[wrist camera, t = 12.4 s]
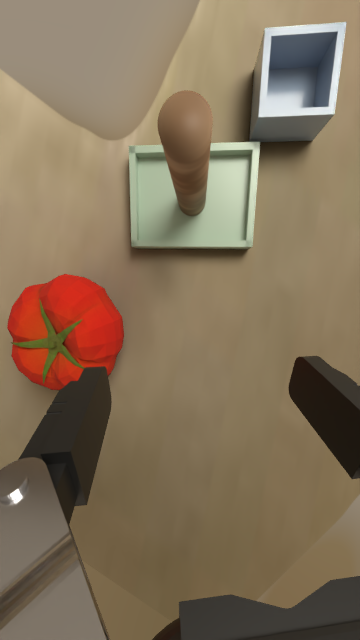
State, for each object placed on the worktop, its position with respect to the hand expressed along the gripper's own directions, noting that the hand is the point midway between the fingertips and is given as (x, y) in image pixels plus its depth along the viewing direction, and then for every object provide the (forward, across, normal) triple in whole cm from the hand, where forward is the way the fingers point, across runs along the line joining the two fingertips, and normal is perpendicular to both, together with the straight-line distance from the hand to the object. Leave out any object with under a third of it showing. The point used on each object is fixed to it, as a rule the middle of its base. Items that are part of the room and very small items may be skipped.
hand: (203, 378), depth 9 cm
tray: (+26, -3, -9) cm, 28 cm away
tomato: (+25, +13, +9) cm, 30 cm away
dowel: (+25, -3, -9) cm, 27 cm away
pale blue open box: (+27, -14, -19) cm, 36 cm away
